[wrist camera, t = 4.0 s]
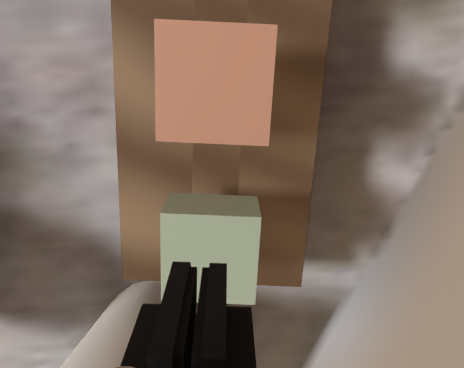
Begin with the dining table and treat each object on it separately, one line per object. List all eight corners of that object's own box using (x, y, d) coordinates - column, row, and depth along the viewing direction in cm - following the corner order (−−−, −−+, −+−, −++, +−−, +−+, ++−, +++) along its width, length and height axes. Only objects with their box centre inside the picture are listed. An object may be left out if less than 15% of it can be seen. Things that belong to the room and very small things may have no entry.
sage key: (180, 170, 21) (160, 213, 15) (252, 173, 22) (261, 217, 15) (180, 236, 23) (160, 301, 16) (248, 238, 23) (255, 305, 16)
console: (122, -351, 17) (90, -474, 13) (348, -337, 17) (382, -453, 13) (139, 247, 25) (122, 279, 21) (290, 253, 25) (300, 286, 22)
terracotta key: (180, 35, 19) (154, 18, 12) (261, 39, 19) (277, 24, 12) (179, 118, 20) (155, 141, 14) (256, 121, 20) (269, 146, 14)
